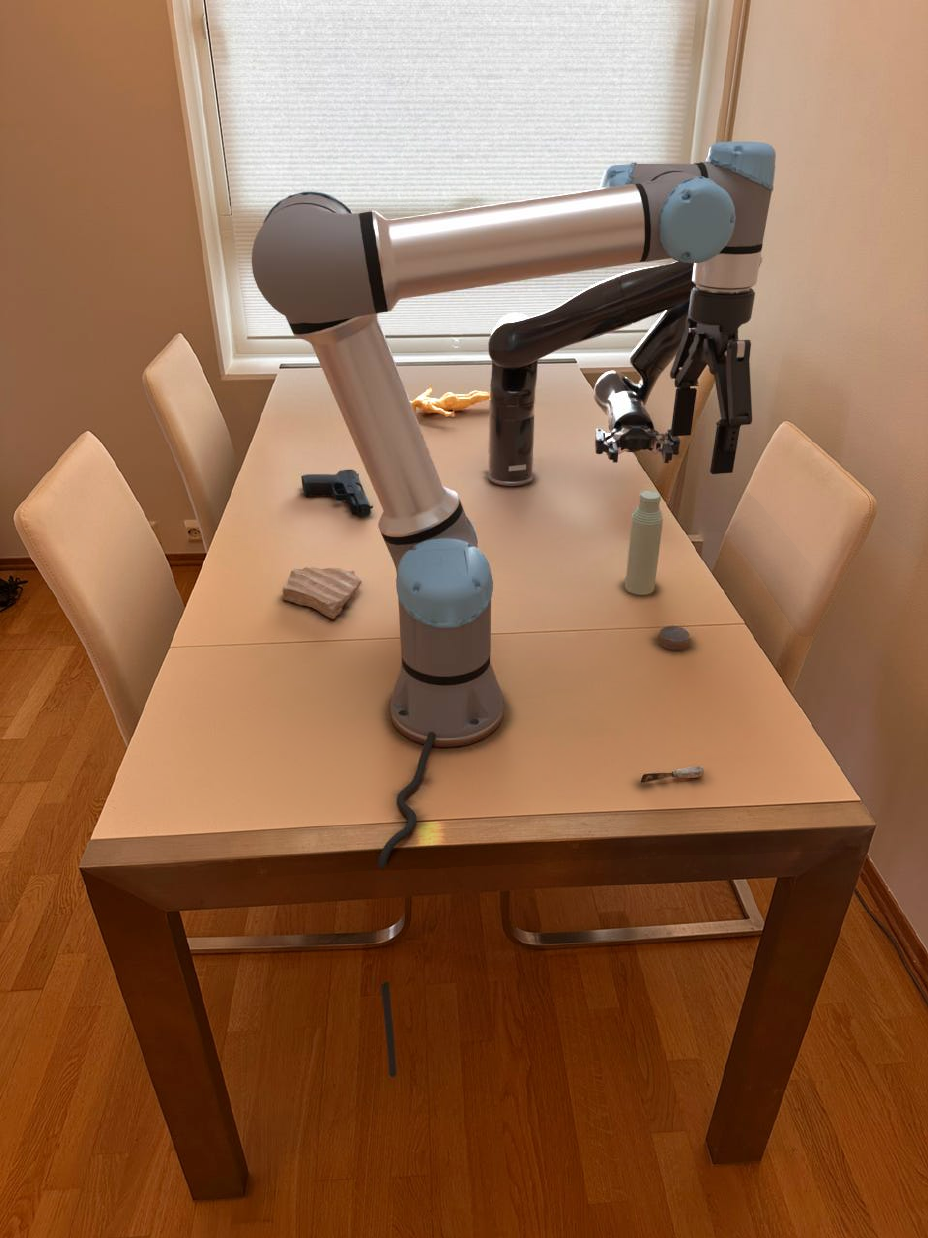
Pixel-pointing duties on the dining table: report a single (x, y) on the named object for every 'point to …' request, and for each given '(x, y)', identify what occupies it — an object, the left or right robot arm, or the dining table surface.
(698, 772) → the putty knife
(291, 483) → the dining table surface
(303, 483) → the handgun
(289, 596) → the stone
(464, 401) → the human figure
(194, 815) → the dining table surface
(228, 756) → the dining table surface
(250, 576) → the dining table surface
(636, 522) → the bottle
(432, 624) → the left robot arm
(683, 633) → the cap
